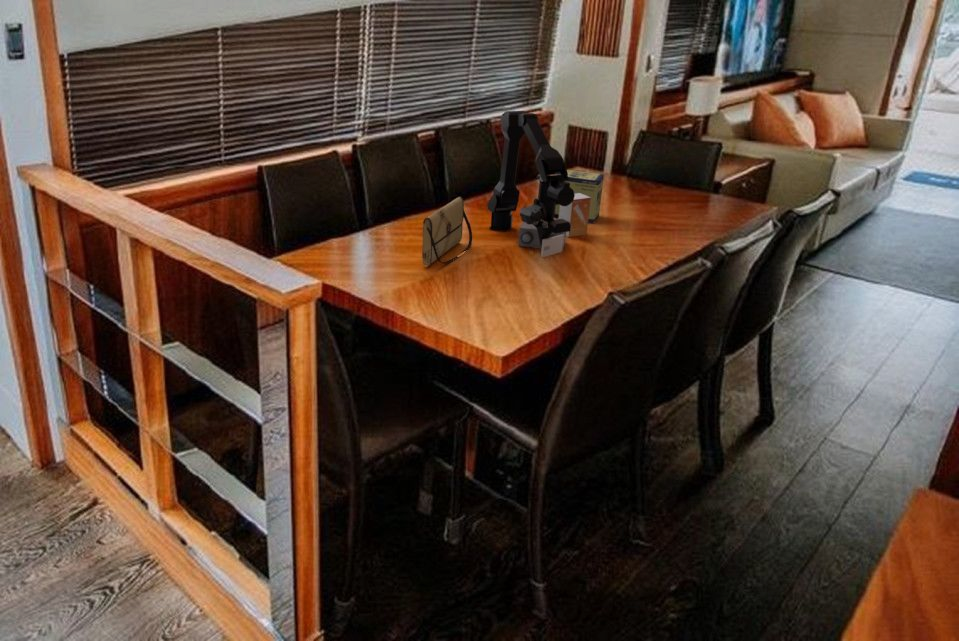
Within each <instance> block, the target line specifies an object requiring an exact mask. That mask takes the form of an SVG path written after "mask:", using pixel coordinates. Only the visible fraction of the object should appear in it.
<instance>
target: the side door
mask: <svg viewBox="0 0 959 641" xmlns="http://www.w3.org/2000/svg"><path fill="white" fill-rule="evenodd" d="M564 236H565V235H564V234H562V235H558V236H554V237H550V238H546V239H543V240H542V248H541V251H540V252H541V254H540V257H541V258H546V257H549V256H553V255H556V253H557V254H559V253H563V252H564V247H565V244H564ZM563 246H564V247H563Z"/></svg>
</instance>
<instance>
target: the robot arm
mask: <svg viewBox="0 0 959 641" xmlns="http://www.w3.org/2000/svg"><path fill="white" fill-rule="evenodd" d="M500 131H501V132H502V134H503V137H504V142H503V150H502V160H501V169H500V177H499V181H498V183H497V184H496V185H495V187H494V188H493V194H492V196H491V197H490V199H489V200H488V201H487V203H486V206H487V210H488V211H489V212H491V215H490V216H491V217H490V218H491V219H490V226H489V230H491V231H492V230H493V231H494V230H495V231H501V232H509V231H510V229H512V226H513V219H514V218H513V216H514V215H513V214H512V212H516V210H517V208H518V205H519V204H518V203H519V201H520V192H521V191H520V190H519V189H518V188H517V185H516V176H517V168H518V160H519V150H520V144H521V140H522V138H523V137H524V136H525V135H526V137H527V139H528V141H529V144H530V145H531V148H532V150H533V151H534V154H535V161H534V162H535V166H536V170H537V172H538V174H537V175H536V179H538V180H539V182H538V192H537V198H534V199H533V204H531V205H529V206H522V208H521V209H520V210H519V217H520V220H521V221H522V223H523V222H526V223H527V224H533V225H534V226H535V227H536V228H537V231H538V235H539V240H540V245H541V246H542V240H543V239H546V238H549V236H550V235H551V233H552V232H553V233H562V232H568V231H570V230H571V224H570V223H569V222H568V221H566V220H564V219H559V218H557V217H558V214H556V213H555V210H556V205H558V204H560V205H561V206H568V205H570V204H571V203H572V201H573V200H574V196H575V194H574V191H573V189H572V188H570V183H569V182H565V181H568V180H569V179H568V172H567V170H568V169H567V167H566V163H565V161H564V158H563V156H562V155H561V153H560V152H559V151H558V150H557V149H555V148H554V147H552V145H551V144H550V142H549V140H548V138H547V137H546V134H545V133H544V131H543V128H542V127H541V124H540V123H539V119H538V115H537V113H534V112H530V113H529V112H527V113H526V112H525V111H524V110H506V111H504V112H503V113H502V115H501V116H500ZM557 174H561V175H557Z"/></svg>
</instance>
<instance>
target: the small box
mask: <svg viewBox="0 0 959 641" xmlns="http://www.w3.org/2000/svg"><path fill="white" fill-rule="evenodd" d="M590 201H591V197H588V196H586V195H583V194H581V193H576V194H575V196H574V200H573V201H572V203H571V204H570V205H568V206H561V205H560V210H559V218H558V219H564V220H566V221H568V222H569V223H570V224H571V230H570V231H568V232H566V237H567V238H574V237H579V236H587V233H588V227H589V226H588V225H589V224H588V218H589V209H590Z"/></svg>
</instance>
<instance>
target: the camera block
mask: <svg viewBox="0 0 959 641" xmlns="http://www.w3.org/2000/svg"><path fill="white" fill-rule="evenodd" d="M562 234H564V235H565V236H564V246H563V248H564V247H565V244H566V240H567V239H566V232H562V233H553V232H552V233H551V235H550V236H549V238H550V237H554V236H558V235H562ZM518 245H519V246H518ZM517 246H518V247H527V248H533V249H534V248H535V249H542V246H541V245H540V240H539V235H538V231H537V228H536V227H535V226H534V225H533V224H527V223H526V222H523V221H522V222H521V225H520V226H519V229H518V244H517Z"/></svg>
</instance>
